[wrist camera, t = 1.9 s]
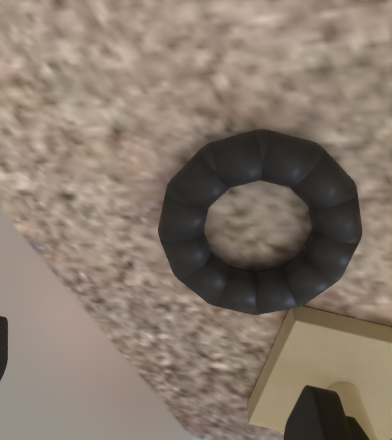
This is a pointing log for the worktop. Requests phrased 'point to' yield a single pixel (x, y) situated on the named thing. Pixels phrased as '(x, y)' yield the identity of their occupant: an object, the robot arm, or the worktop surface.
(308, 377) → the stand
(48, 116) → the worktop surface
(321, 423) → the robot arm
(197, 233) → the ring
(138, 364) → the worktop surface
